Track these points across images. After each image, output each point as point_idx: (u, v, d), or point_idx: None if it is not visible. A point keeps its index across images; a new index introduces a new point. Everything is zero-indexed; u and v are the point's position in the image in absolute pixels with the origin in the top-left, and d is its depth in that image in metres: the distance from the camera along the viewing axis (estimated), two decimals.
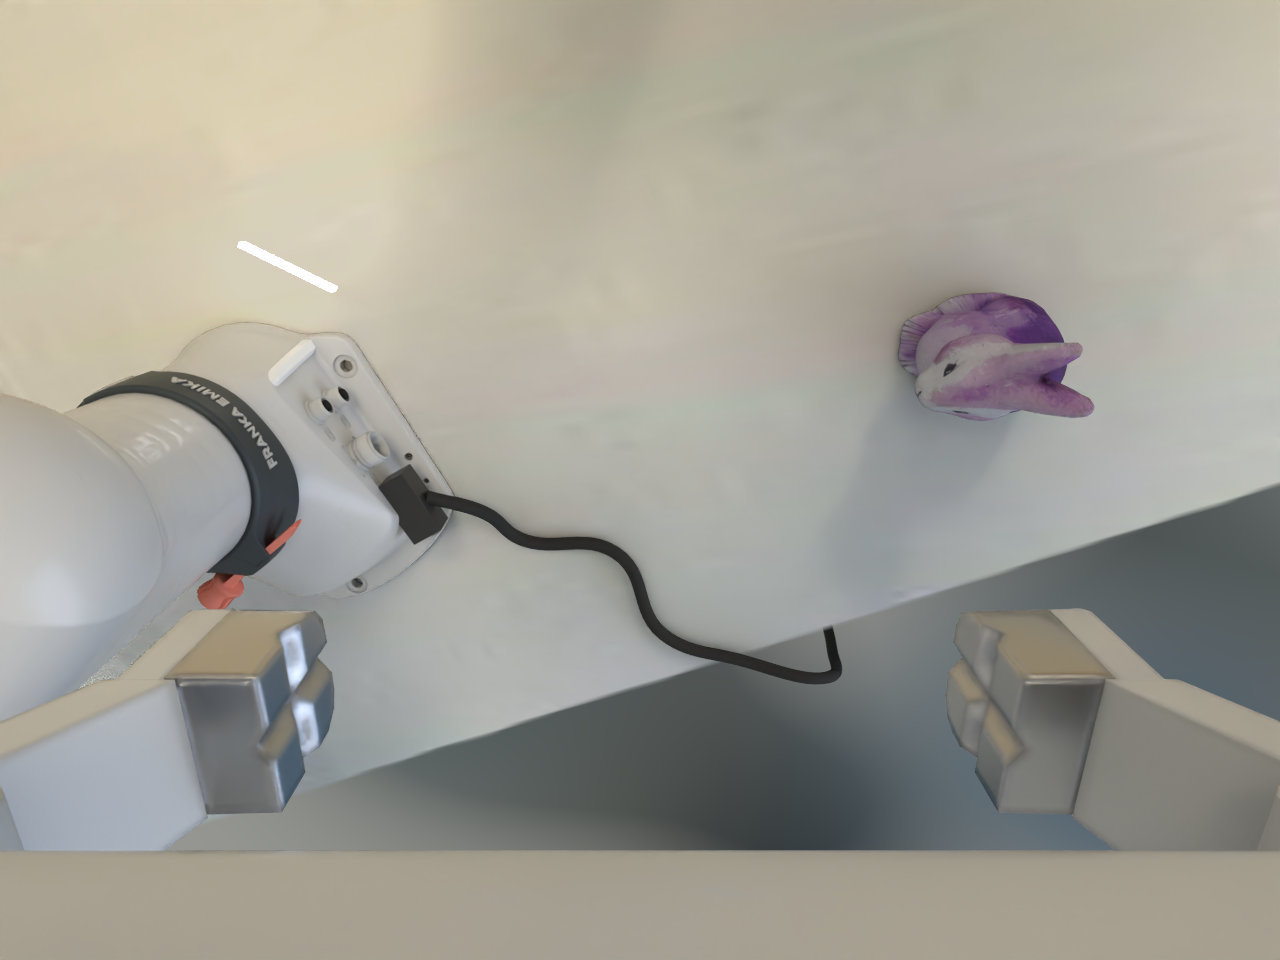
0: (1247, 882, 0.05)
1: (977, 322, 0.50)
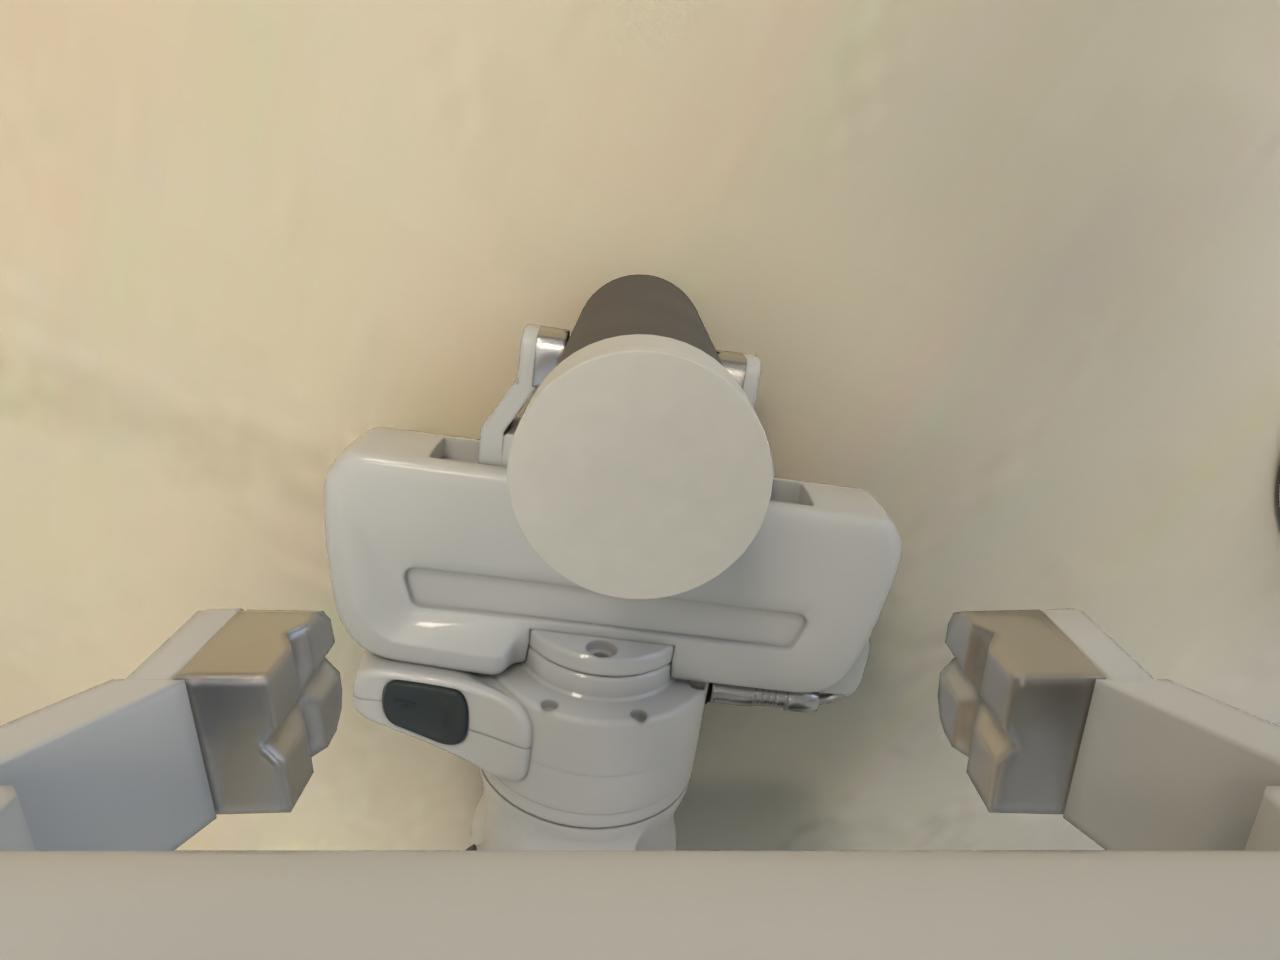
0: (1247, 882, 0.05)
1: None
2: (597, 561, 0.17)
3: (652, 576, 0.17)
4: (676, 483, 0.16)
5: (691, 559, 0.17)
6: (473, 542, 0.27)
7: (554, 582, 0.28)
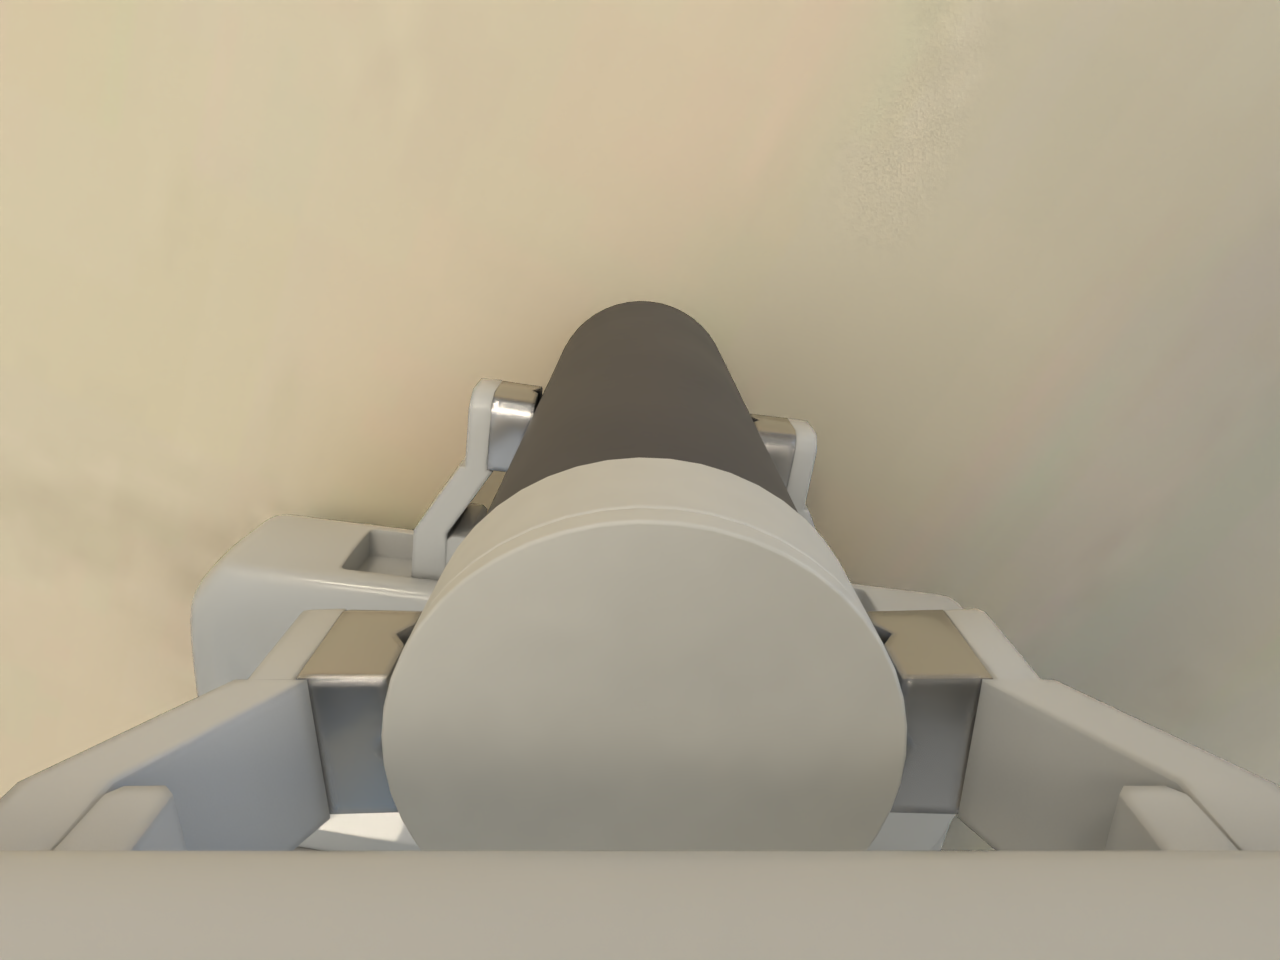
0: (1247, 882, 0.05)
1: None
2: None
3: None
4: (716, 763, 0.08)
5: None
6: None
7: None
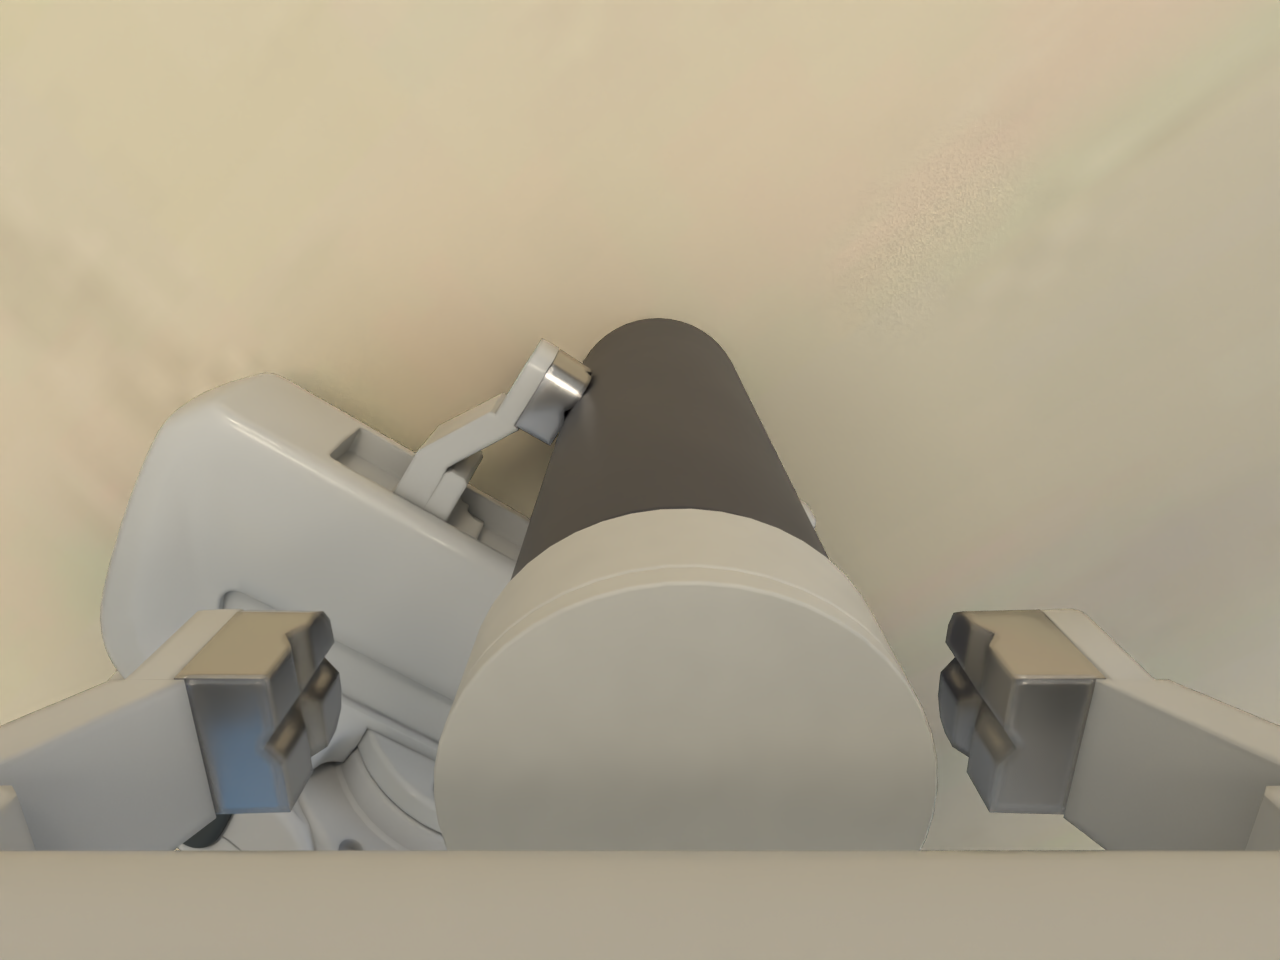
0: (1247, 882, 0.05)
1: None
2: None
3: None
4: (733, 764, 0.08)
5: (869, 828, 0.09)
6: (339, 593, 0.19)
7: (427, 684, 0.20)
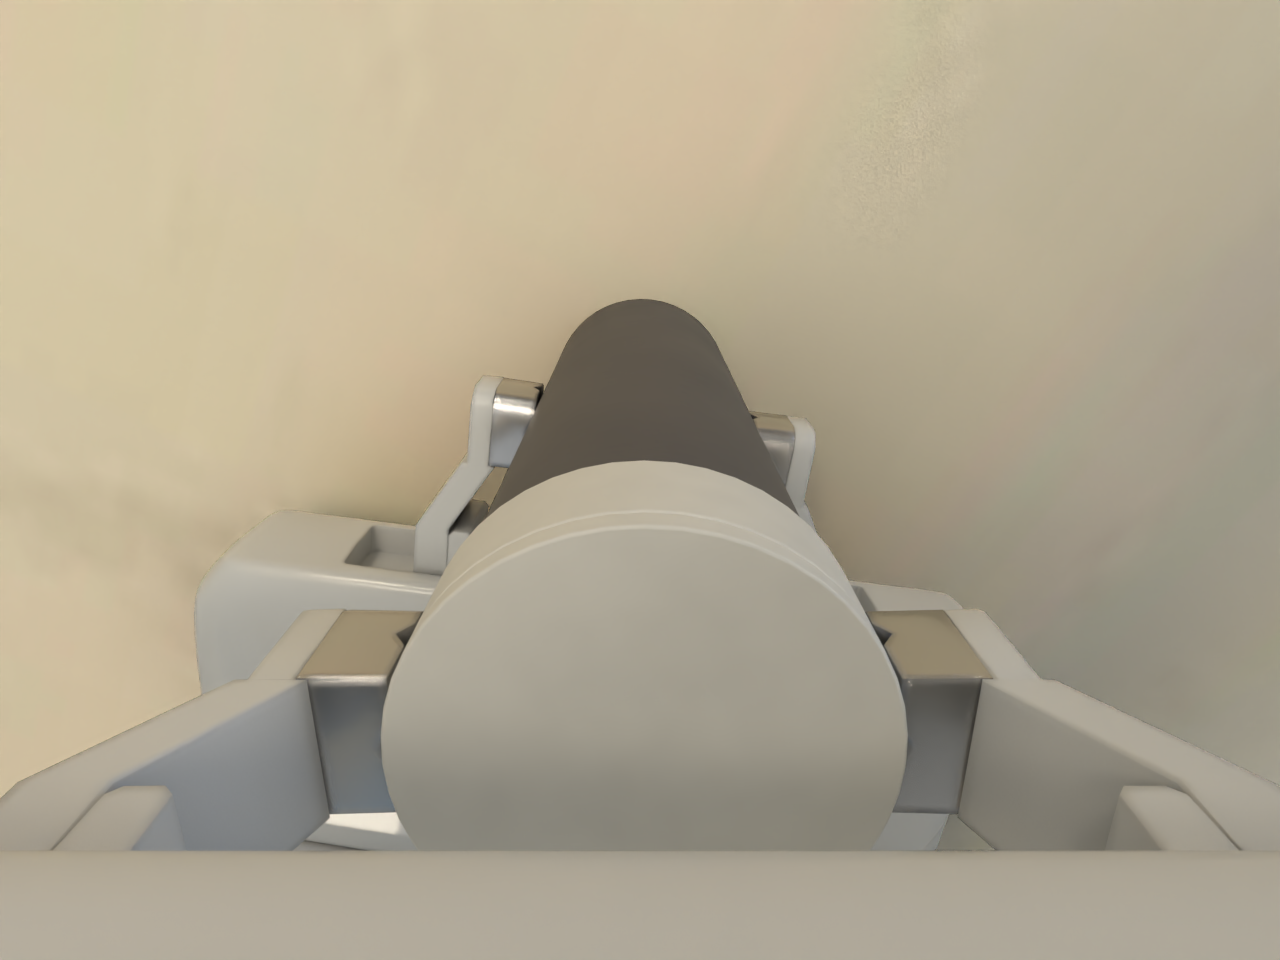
0: (1247, 882, 0.05)
1: None
2: None
3: (847, 792, 0.08)
4: (666, 708, 0.08)
5: (839, 721, 0.08)
6: None
7: None
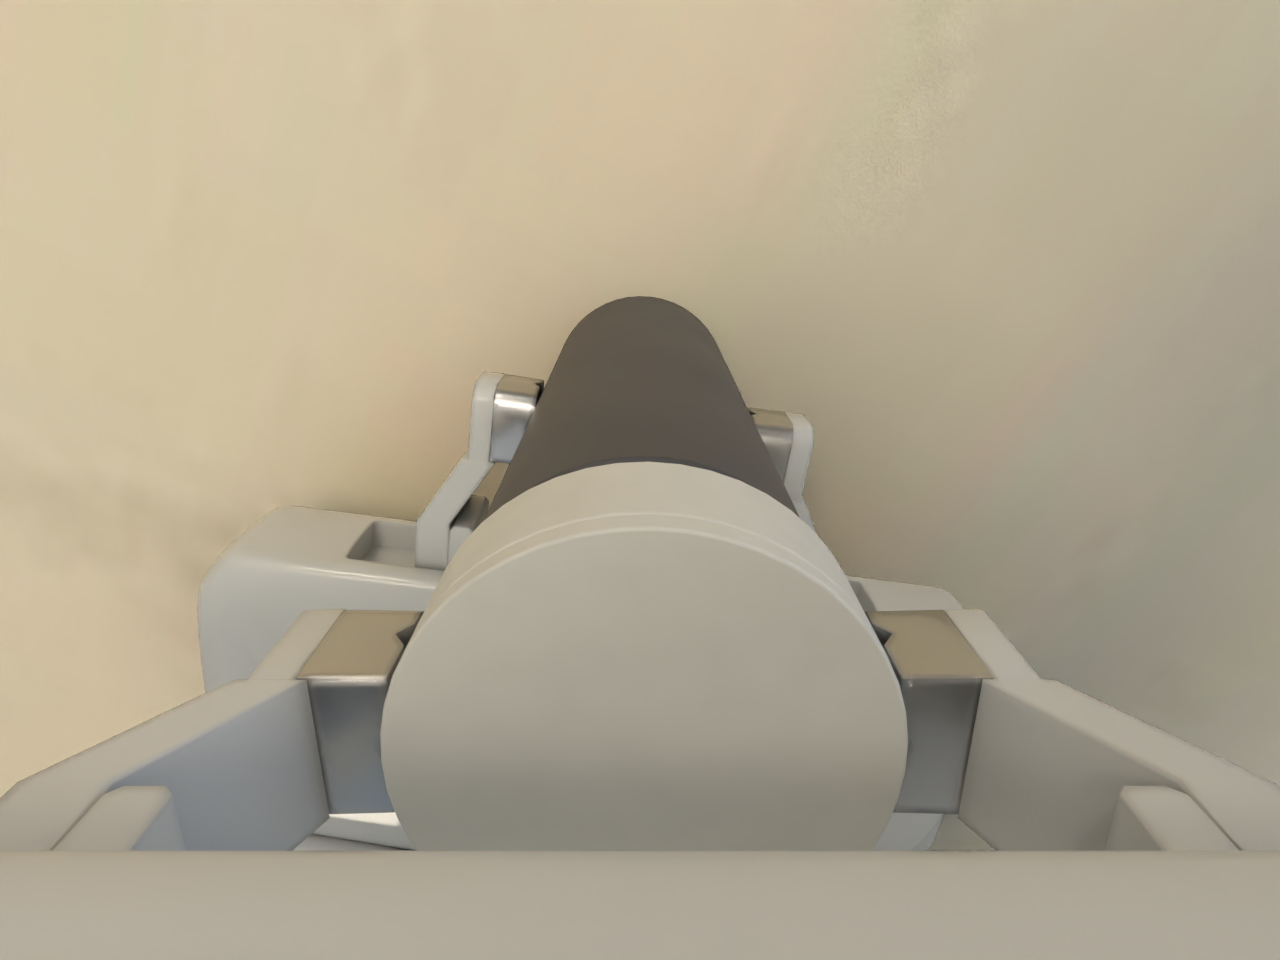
0: (1247, 882, 0.05)
1: None
2: (818, 685, 0.08)
3: (741, 601, 0.08)
4: (582, 735, 0.08)
5: (645, 592, 0.07)
6: None
7: None
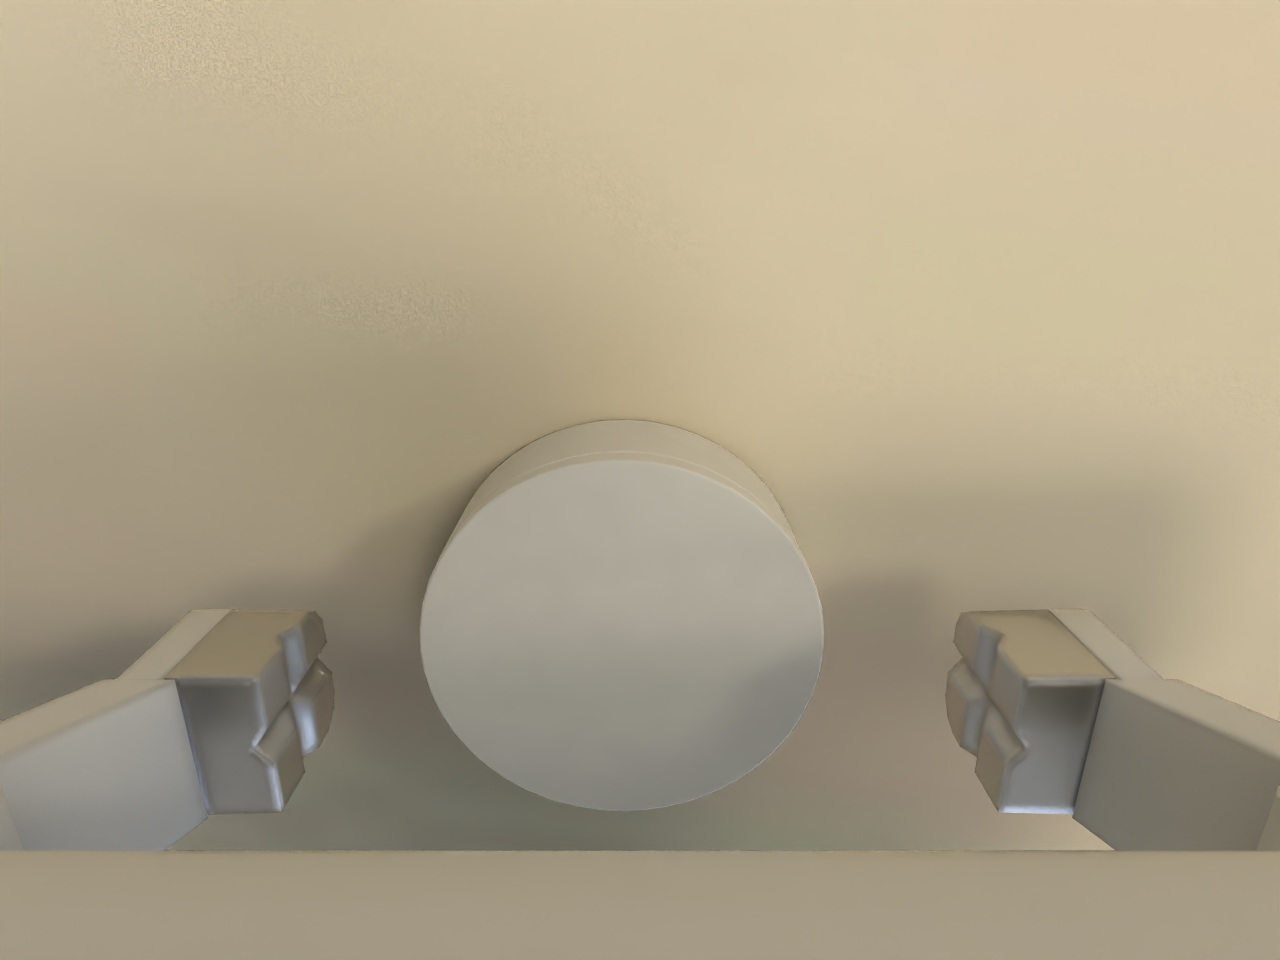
0: (1247, 882, 0.05)
1: None
2: (752, 583, 0.10)
3: (692, 517, 0.10)
4: (574, 625, 0.11)
5: (620, 510, 0.10)
6: None
7: None
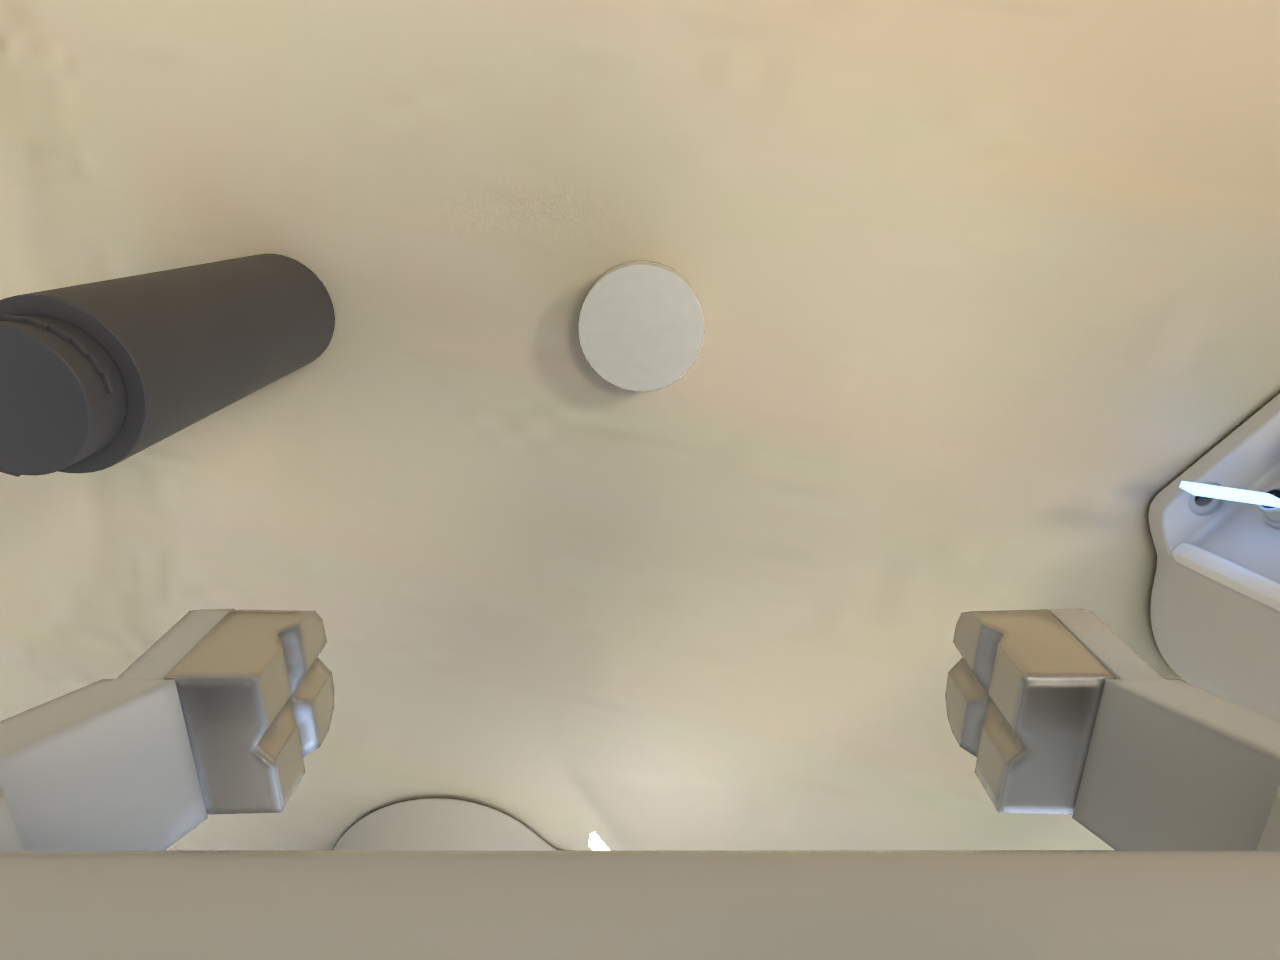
0: (1248, 882, 0.05)
1: None
2: (681, 305, 0.34)
3: (663, 283, 0.34)
4: (626, 319, 0.34)
5: (641, 280, 0.33)
6: None
7: None
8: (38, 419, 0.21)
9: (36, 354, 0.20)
